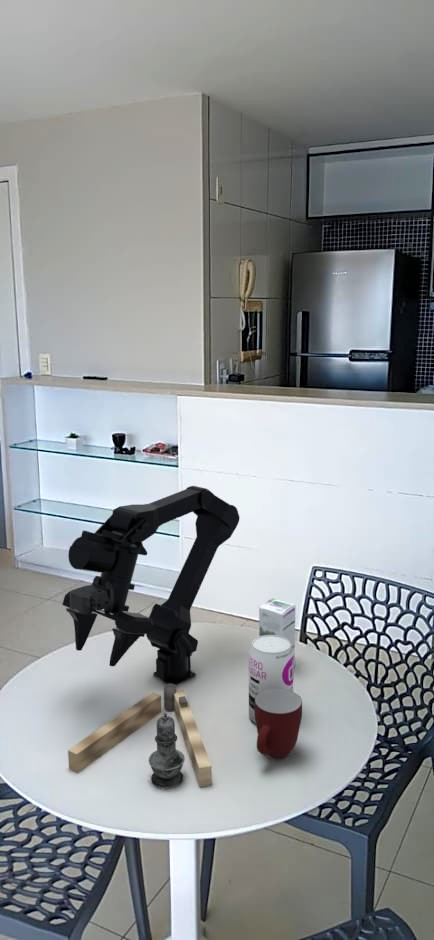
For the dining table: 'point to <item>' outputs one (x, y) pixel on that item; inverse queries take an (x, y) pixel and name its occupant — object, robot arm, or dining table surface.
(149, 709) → the tongs jaw
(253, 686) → the supplement can
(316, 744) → the dining table surface
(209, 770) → the tongs fixed arm
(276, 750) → the mug
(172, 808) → the dining table surface
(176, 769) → the salt shaker
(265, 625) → the syrup box
